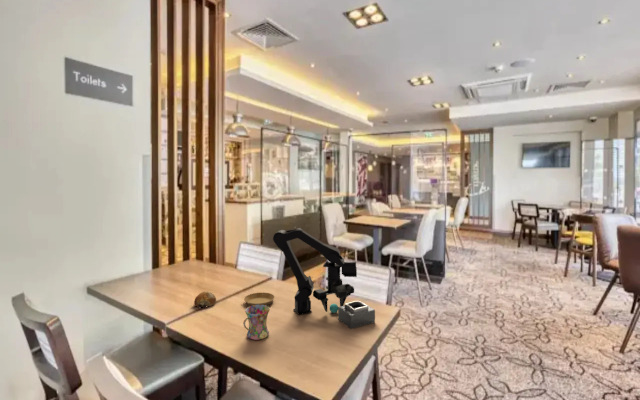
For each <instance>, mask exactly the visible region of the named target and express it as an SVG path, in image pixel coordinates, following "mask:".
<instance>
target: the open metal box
mask: <svg viewBox="0 0 640 400" xmlns="http://www.w3.org/2000/svg"><path fill="white" fill-rule="evenodd" d="M337 312H338V313H337V314H338V316H337V319H338V321H340V322H341V323H342V324H343V325H345V326H346V327H348V328H349V329H350V330H353V329H355V328H360V327H364V326H368V325H371V324H374V323H375V322H376V309H375V308H373V307H371V306H370V305H368V304H366V303H364V302H363V301H360V300H353V301H350V302H346V303H345V302H344V305H343V306H340V305H339V306H338V311H337Z"/></svg>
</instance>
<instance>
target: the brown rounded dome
mask: <svg viewBox="0 0 640 400" xmlns="http://www.w3.org/2000/svg"><path fill="white" fill-rule="evenodd" d="M193 303H194V304H193V305H194V306H197V307H206V306H207V308H209V307H208V306H210V307H213V306H214V305H216V303H217V297H216V295H215V294H214V293H213V292H212V291H202V292H199V293H198V295H196V296H195V298H194V302H193ZM212 305H213V306H212ZM197 307H196V308H197Z"/></svg>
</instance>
